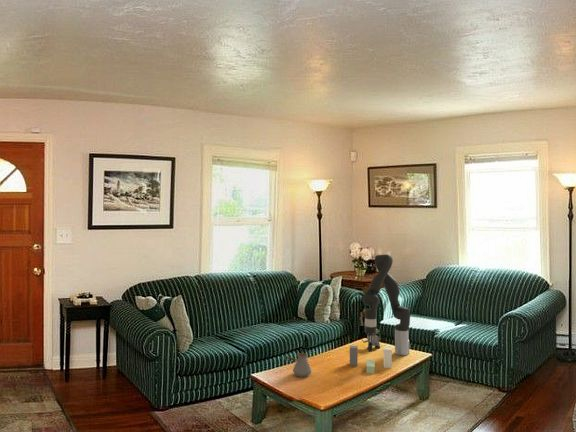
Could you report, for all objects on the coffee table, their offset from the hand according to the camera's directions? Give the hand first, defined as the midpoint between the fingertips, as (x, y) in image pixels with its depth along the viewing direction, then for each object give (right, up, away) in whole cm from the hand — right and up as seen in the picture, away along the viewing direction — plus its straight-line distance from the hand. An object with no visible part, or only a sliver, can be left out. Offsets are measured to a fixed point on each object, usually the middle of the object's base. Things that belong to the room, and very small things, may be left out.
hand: (370, 351), depth 328 cm
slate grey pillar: (-10, -10, +4) cm, 15 cm away
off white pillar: (+12, -10, +1) cm, 15 cm away
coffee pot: (-48, -11, -19) cm, 53 cm away
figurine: (+8, -9, +41) cm, 42 cm away
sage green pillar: (0, -8, 0) cm, 8 cm away
